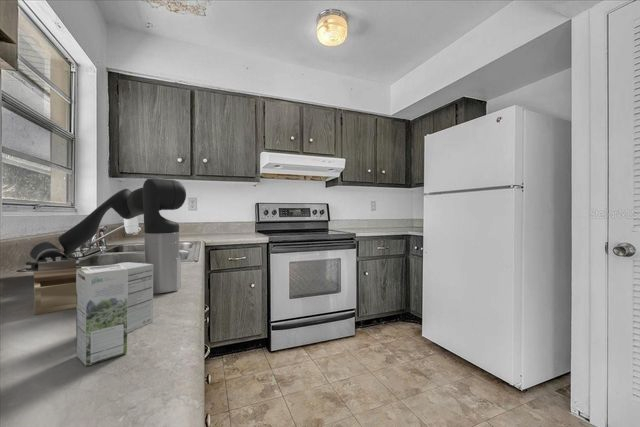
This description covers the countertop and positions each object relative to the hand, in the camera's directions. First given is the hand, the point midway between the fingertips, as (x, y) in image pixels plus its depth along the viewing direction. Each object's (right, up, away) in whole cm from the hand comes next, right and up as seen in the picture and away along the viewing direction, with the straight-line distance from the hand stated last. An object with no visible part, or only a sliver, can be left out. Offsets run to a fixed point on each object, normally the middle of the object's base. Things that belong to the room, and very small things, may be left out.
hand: (55, 267), depth 86 cm
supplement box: (+37, -8, -25) cm, 45 cm away
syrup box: (+41, -8, -37) cm, 56 cm away
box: (+11, -7, -11) cm, 17 cm away
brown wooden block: (+6, -1, -5) cm, 8 cm away
